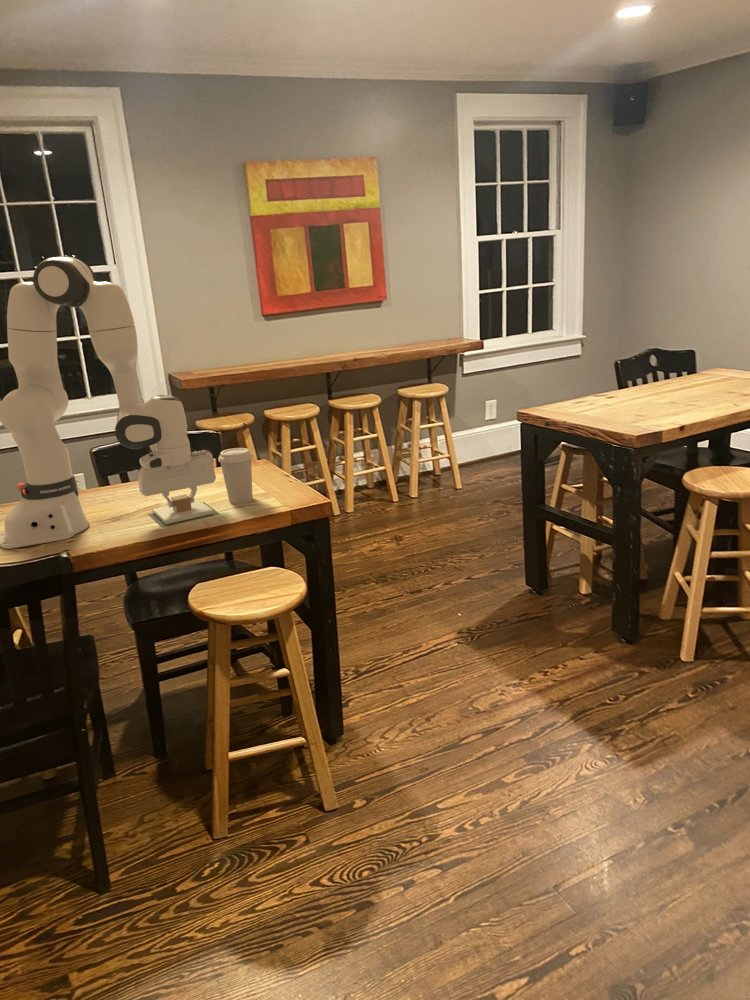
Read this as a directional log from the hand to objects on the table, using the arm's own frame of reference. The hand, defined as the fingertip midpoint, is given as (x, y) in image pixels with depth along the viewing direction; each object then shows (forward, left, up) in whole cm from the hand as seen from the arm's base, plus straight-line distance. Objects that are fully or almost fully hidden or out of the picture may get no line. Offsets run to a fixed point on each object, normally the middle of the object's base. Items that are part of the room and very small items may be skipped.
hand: (181, 504), depth 198 cm
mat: (0, 0, -3) cm, 3 cm away
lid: (0, 0, -2) cm, 2 cm away
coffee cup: (+17, +1, -4) cm, 18 cm away
